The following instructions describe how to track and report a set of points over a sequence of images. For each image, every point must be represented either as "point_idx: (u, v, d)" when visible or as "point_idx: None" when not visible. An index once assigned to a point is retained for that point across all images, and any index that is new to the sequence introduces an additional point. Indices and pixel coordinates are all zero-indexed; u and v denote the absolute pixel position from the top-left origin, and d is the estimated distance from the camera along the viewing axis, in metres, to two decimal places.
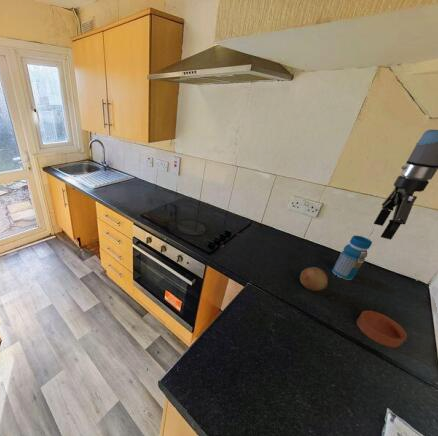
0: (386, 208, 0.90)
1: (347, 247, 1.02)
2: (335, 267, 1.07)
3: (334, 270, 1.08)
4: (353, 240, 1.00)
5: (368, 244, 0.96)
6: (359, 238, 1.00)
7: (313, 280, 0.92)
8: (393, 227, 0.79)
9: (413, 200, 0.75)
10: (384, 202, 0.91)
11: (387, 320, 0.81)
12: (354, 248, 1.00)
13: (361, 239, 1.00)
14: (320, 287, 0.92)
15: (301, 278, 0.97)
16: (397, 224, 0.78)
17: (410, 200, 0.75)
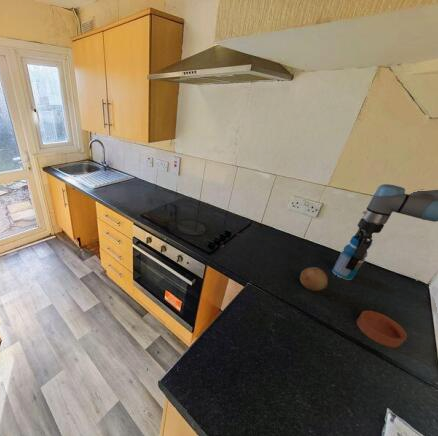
0: None
1: (347, 247, 1.02)
2: (335, 267, 1.07)
3: (334, 270, 1.08)
4: (353, 240, 0.99)
5: None
6: None
7: (313, 280, 0.92)
8: (354, 261, 0.98)
9: (369, 242, 0.93)
10: None
11: (387, 320, 0.81)
12: (354, 248, 1.00)
13: None
14: (320, 287, 0.92)
15: (301, 278, 0.97)
16: (357, 259, 0.97)
17: (367, 242, 0.93)
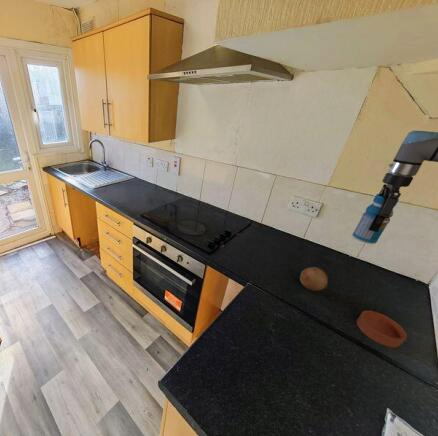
0: None
1: (370, 207, 0.93)
2: (356, 231, 0.98)
3: (355, 234, 0.98)
4: (377, 198, 0.90)
5: None
6: None
7: (313, 280, 0.92)
8: (379, 221, 0.89)
9: (397, 197, 0.83)
10: None
11: (387, 320, 0.81)
12: (378, 206, 0.90)
13: None
14: (320, 287, 0.92)
15: (301, 278, 0.97)
16: (382, 218, 0.88)
17: (395, 197, 0.84)
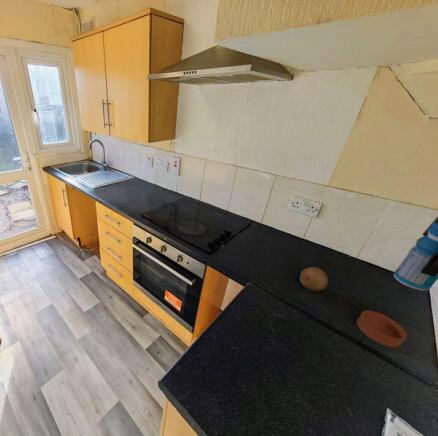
0: None
1: (424, 240, 0.66)
2: (400, 271, 0.71)
3: (398, 275, 0.71)
4: (436, 229, 0.63)
5: None
6: None
7: (313, 280, 0.92)
8: None
9: None
10: (426, 230, 0.70)
11: (387, 320, 0.81)
12: None
13: None
14: (320, 287, 0.92)
15: (301, 278, 0.97)
16: None
17: None
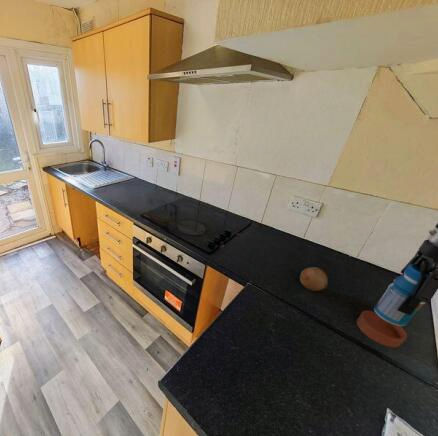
0: None
1: (400, 280, 0.71)
2: (380, 306, 0.76)
3: (378, 310, 0.76)
4: (411, 271, 0.68)
5: None
6: None
7: (313, 280, 0.92)
8: (413, 303, 0.67)
9: None
10: (404, 269, 0.75)
11: None
12: (413, 283, 0.68)
13: None
14: (320, 287, 0.92)
15: (301, 278, 0.97)
16: (418, 300, 0.66)
17: None
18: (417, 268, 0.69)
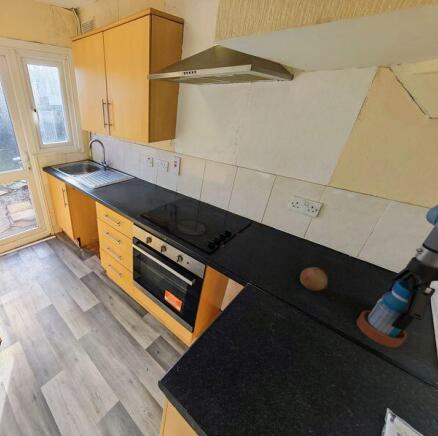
0: None
1: (388, 296, 0.74)
2: (369, 320, 0.79)
3: None
4: (398, 288, 0.71)
5: None
6: (406, 285, 0.72)
7: (313, 280, 0.92)
8: (407, 319, 0.67)
9: (431, 293, 0.63)
10: (394, 277, 0.79)
11: None
12: (400, 299, 0.71)
13: None
14: (320, 287, 0.92)
15: (301, 278, 0.97)
16: (411, 317, 0.67)
17: (427, 293, 0.64)
18: (404, 285, 0.72)
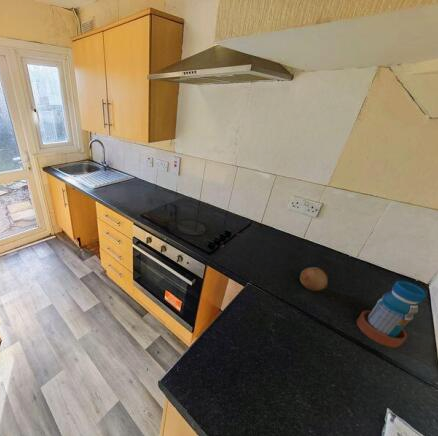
0: None
1: (388, 296, 0.74)
2: (369, 320, 0.79)
3: None
4: (398, 288, 0.71)
5: (422, 296, 0.68)
6: (406, 285, 0.72)
7: (313, 280, 0.92)
8: None
9: None
10: None
11: None
12: (400, 299, 0.71)
13: (409, 287, 0.71)
14: (320, 287, 0.92)
15: (301, 278, 0.97)
16: None
17: None
18: (404, 285, 0.72)
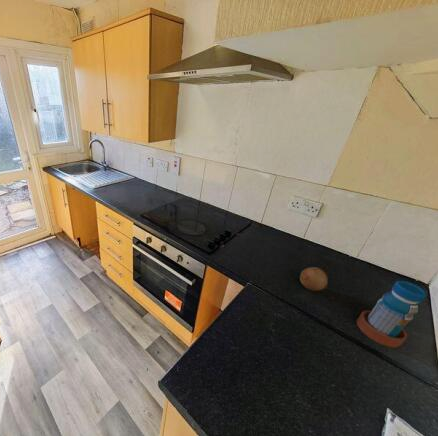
0: None
1: (388, 296, 0.74)
2: (369, 320, 0.79)
3: None
4: (398, 288, 0.71)
5: (422, 296, 0.68)
6: (406, 285, 0.72)
7: (313, 280, 0.92)
8: None
9: None
10: None
11: None
12: (400, 299, 0.71)
13: (409, 287, 0.71)
14: (320, 287, 0.92)
15: (301, 278, 0.97)
16: None
17: None
18: (404, 285, 0.72)
